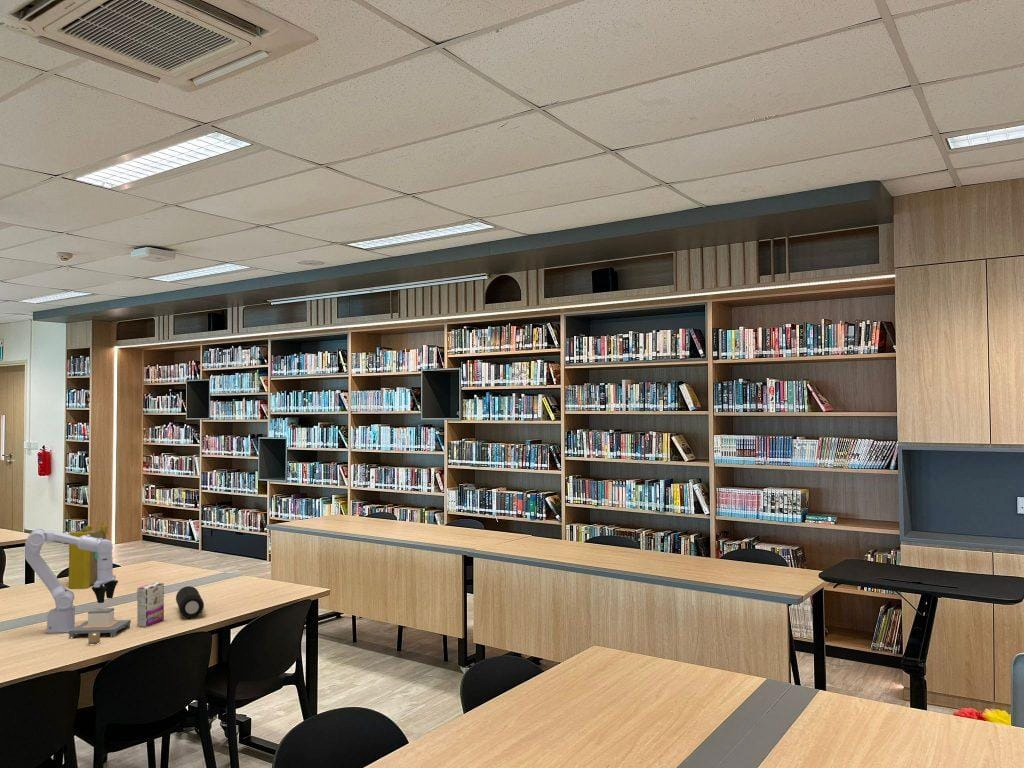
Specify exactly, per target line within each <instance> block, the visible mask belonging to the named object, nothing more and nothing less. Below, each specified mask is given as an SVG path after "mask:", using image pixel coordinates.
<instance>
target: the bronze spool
mask: <svg viewBox="0 0 1024 768" xmlns="http://www.w3.org/2000/svg"><path fill="white" fill-rule="evenodd" d="M87 637H88V642H87V643H88V644H97V643H99V642H100V643H101V633H100V632H92V633H87ZM100 643H99V644H100ZM88 644H87V645H88ZM97 645H98V644H97Z"/></svg>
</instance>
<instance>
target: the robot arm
mask: <svg viewBox="0 0 1024 768" xmlns="http://www.w3.org/2000/svg"><path fill="white" fill-rule="evenodd" d="M45 542H46V544H49V543H53V542H59V543H64V544H74V545H77V547H78V549H83V550H87V551H92V552H96V551H97V552H98V558H97V581H96V582H95V583H94V584H93V586H92V587H91V590H92V591H93V593H94V595H95V598H96V601H97V603H98V604H103V603H105V599H113V597H114V593H115V590H116V586H117V585H118V583H119V580H117V579H116V575H115V574H114V573H113V571H114V570H113V566H114V565H113V563H114V562H113V559H114V558H113V552H112V551H113V542H112V541H111V540H109V539H107V538H106V539H103V540H102V538H100V539H98V538H94V537H90V535H87V536H85V535H83V536H81V537H75V536H72V535H70V534H67V533H65V532H64V533H63V532H60V531H59V532H58V531H55V530H52V529H51V530H50V529H41V528H37V529H34V530H32V532H30V534H29V535H28V536H27V538H26V541H25V543H24V548H25V549H24V559H25V561H26V562H27V563H28V564H29V565H30V567H31V568H32V570H33V571H34V573H36V575H37V576H38V578H39V579H40V580H41V582H42V583H43V584H44V585H45V587H46V589H48V591H49V592H50V595H51V596H52V598H53V600H54V603H55V608H52V609H50V610H49V611H48V613H47V616H46V631H45V634H53V633H54V634H55V633H56V634H57V633H58V634H59V633H62V634H63V633H69V630H71V629H73V628H75V627H77V626H78V625H75V624H76V622H75V620H76V619H75V618H76V617H75V616H76V615H75V614H76V613H75V612H76V606H75V604H74V600H75V593H74V592H73V591H71V590H69V589H67V587H66V586H65V585H63V584H62V582H61V581H60V580H59V578H58V577H57V576H56V574H55V573H54V572H53V570H52V569H51V568H50V566H49V565H48V564H47V562H46V561H45V560H44V558H43V557H42V556H41V555H40V553H41V550H42V547H43V545H44V544H45ZM93 550H94V551H93Z"/></svg>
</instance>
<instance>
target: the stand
mask: <svg viewBox="0 0 1024 768" xmlns="http://www.w3.org/2000/svg"><path fill="white" fill-rule="evenodd" d="M131 623H132V619H117V620H115V619H114V623H112V624H111V625H109V626H89V627H88V620H86V621H84V622H82V623H81V624H78V625H76V626H77V627H75V628H73V629H71V630H69V632H68V634H69V637H68V638H69V639H72V638H71V637H75V636H77V635H76V634H89V633H92V632H100V634H106V633H107V634H108V633H110V635H109V636H115V635H116V636H117V632H118V631H119V630H121V629H123V628H125V629H129V628H128V627H130V628H131ZM116 636H115V637H116ZM75 638H76V637H75Z"/></svg>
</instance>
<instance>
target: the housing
mask: <svg viewBox="0 0 1024 768" xmlns="http://www.w3.org/2000/svg"><path fill="white" fill-rule="evenodd" d="M114 620H115V608H114V607H103V608H102V607H98V608H97V607H96V608H92V609H91V610H88V611H87V621H88V627H89V626H109V625H111V624H112V623H114Z"/></svg>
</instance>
